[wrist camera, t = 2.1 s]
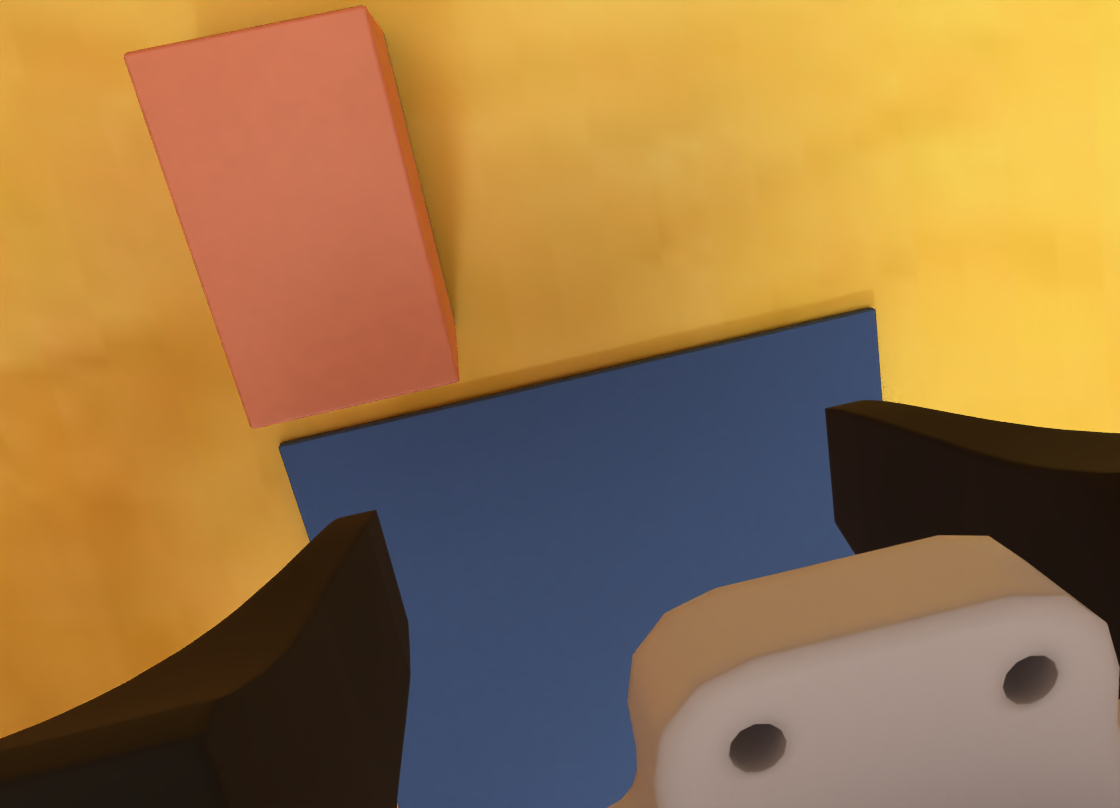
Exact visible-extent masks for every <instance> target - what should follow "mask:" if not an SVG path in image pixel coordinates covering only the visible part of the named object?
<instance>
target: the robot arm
mask: <svg viewBox="0 0 1120 808" xmlns="http://www.w3.org/2000/svg"><path fill="white" fill-rule="evenodd" d="M825 416H826V427H827V439H828V451H829V462H830V474H831V485H832V497H833V508H834V520H835V524H836V525H837V527H838V528H839V530H840V531H841V533H842V535H843V536H844V538H845V539H846V541H847V543H848V544H849V546H850V547H851V549H852V550H853V552H854V553H855V554H856V555H853V556H849V557H844V558H840V559H836V560H832V561H828V562H823V563H819V564H815V565H811V566H806V567H802V568H798V569H794V570H790V571H785V572H781V573H777V574H773V575H769V576H764V577H760V578H756V579H752V580H747V581H743V582H739V583H735V584H731V585H726V586H722V587H718V588H714V589H712V590H710V591H708V592H706V593H704V594H702V595H700V596H698V597H696V598H694V599H692V600H690V601H688V602H686V603H684V604H682V605H680V606H678V607H676V608H674V609H672V610H670V611H668V612H666V613H664V615H663V616H662V617H661V618H660V620H659V621H658V622H657V624H656V625H655V626H654V628H653V629H652V630H651V631H650V633H649V634H648V635H647V637H646V638H645V639H644V641H643V642H642V643H641V645H640V646H639V647H638V648H637V650H636V651H635V652H634V654H633V656H632V665H631V673H630V682H629V690H628V698H627V703H628V708H629V713H630V718H631V724H632V729H633V734H634V739H635V744H636V756H637V771H636V775H635V779H634V782H633V785H632V787H631V788H630V789H629V791H628V792H627V793H626V794H625V795H624V797H623V798H622V799H621V800H620V801H618V802H616V803H614V804H613V805H611V806H609V807H607V808H1120V433H1103V432H1089V431H1075V430H1062V429H1052V428H1043V427H1035V426H1028V425H1021V424H1014V423H1007V422H1000V421H994V420H988V419H982V418H976V417H971V416H965V415H960V414H954V413H949V412H944V411H939V410H933V409H928V408H923V407H917V406H912V405H906V404H900V403H894V402H887V401H878V400H860V401H855V402H851V403H846V404H842V405H838V406H833V407H829V408H825ZM410 677H411V669H410V642H409V622H408V619H407V615H406V612H405V608H404V605H403V601H402V598H401V594H400V591H399V587H398V584H397V580H396V577H395V573H394V570H393V566H392V563H391V559H390V556H389V552H388V549H387V545H386V542H385V538H384V535H383V531H382V528H381V524H380V521H379V517H378V514H377V510H372V511H367V512H363V513H358V514H354V515H349V516H345V517H340V518H337V519H335V520H334V521H332V522H331V523H330V524H329V525H327V526H326V527H325V528H324V529H323V530H322V531H321V532H320V533H319V534H318V535H317V536H316V537H315V538H314V539H313V540H312V541H311V542H310V543H309V544H308V545H307V546H306V547H305V548H304V549H303V550H301V551H300V552H299V553H298V554H297V555H296V556H295V557H294V558H293V559H292V560H291V561H290V562H289V563H288V564H287V565H286V566H285V567H284V568H283V569H282V570H281V571H280V572H279V573H278V574H277V575H276V576H275V577H273V578H272V579H271V580H270V581H269V582H268V583H267V584H265V585H264V586H263V587H262V588H261V589H260V590H259V591H257V592H256V593H255V594H254V595H253V596H252V597H251V598H250V599H248V600H247V601H246V602H245V603H244V604H243V605H242V606H240V607H239V608H238V609H237V610H236V611H234V612H233V613H232V614H231V615H229V616H228V617H227V618H225V619H224V620H223V621H221V622H220V623H219V624H218V625H216V626H215V627H213V628H212V629H211V630H209V631H208V632H206V633H205V634H204V635H202V636H201V637H199V638H198V639H196V640H195V641H194V642H192V643H191V644H189V645H188V646H186V647H185V648H183V649H182V650H180V651H178V652H177V653H175V654H173V655H172V656H170V657H168V658H167V659H165V660H163V661H162V662H160V663H158V664H157V665H155V666H153V667H151V668H150V669H148V670H146V671H145V672H143V673H141V674H140V675H138V676H136V677H135V678H133V679H131V680H129V681H128V682H126V683H124V684H122V685H120V686H118V687H116V688H114V689H112V690H110V691H108V692H106V693H104V694H102V695H100V696H98V697H96V698H95V699H93V700H90V701H88V702H86V703H84V704H82V705H80V706H78V707H75V708H73V709H71V710H69V711H67V712H65V713H62V714H60V715H58V716H56V717H53V718H51V719H49V720H46V721H44V722H42V723H40V724H37V725H35V726H32V727H29V728H27V729H24V730H22V731H19V732H17V733H14V734H11V735H9V736H6V737H4V738H1V739H0V808H397V796H398V788H399V779H400V770H401V761H402V752H403V743H404V734H405V726H406V717H407V707H408V698H409V688H410Z"/></svg>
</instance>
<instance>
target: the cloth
mask: <svg viewBox="0 0 1120 808" xmlns="http://www.w3.org/2000/svg"><path fill="white" fill-rule="evenodd" d="M860 400H878V401H882V391H881V377H880V364H879V351H878V337H877V324H876V311H875V309H873V308H865V309H861V310H857V311H852V312H848V313H844V314H839V315H835V316H831V317H826V318H822V319H818V320H813V321H809V322H805V323H800V324H796V325H792V326H787V327H783V328H779V329H774V330H770V331H766V332H761V333H757V334H753V335H748V336H744V337H740V338H735V339H731V340H727V341H722V342H718V343H714V344H709V345H705V346H701V347H696V348H692V349H688V350H683V351H679V352H675V353H670V354H666V355H661V356H657V357H653V358H648V359H644V360H640V361H635V362H631V363H627V364H622V365H618V366H614V367H609V368H605V369H601V370H596V371H592V372H588V373H583V374H579V375H575V376H570V377H566V378H562V379H557V380H553V381H549V382H544V383H540V384H536V385H531V386H527V387H523V388H518V389H514V390H510V391H505V392H501V393H497V394H492V395H488V396H484V397H479V398H475V399H471V400H466V401H462V402H458V403H453V404H449V405H445V406H440V407H436V408H432V409H427V410H423V411H419V412H414V413H410V414H406V415H401V416H397V417H393V418H388V419H384V420H380V421H375V422H371V423H367V424H362V425H358V426H354V427H349V428H345V429H341V430H336V431H332V432H328V433H323V434H319V435H315V436H310V437H306V438H302V439H297V440H293V441H288V442H284V443H281V444H280V446H279V450H280V453H281V456H282V459H283V462H284V465H285V468H286V471H287V474H288V477H289V480H290V483H291V486H292V489H293V492H294V495H295V498H296V501H297V504H298V507H299V510H300V513H301V516H302V519H303V522H304V525H305V528H306V531H307V534H308V537H309V540H310V542H311V541H312V540H313V539H314V538H315V537H316V536H317V535H318V534H319V533H320V532H321V531H322V530H323V529H324V528H325V527H326V526H327V525H329V524H330V523H331V522H332V521H334V520H335V519H337V518H340V517H345V516H349V515H354V514H358V513H363V512H367V511H372V510H377V514H378V517H379V521H380V524H381V528H382V531H383V535H384V538H385V542H386V545H387V549H388V552H389V556H390V559H391V563H392V566H393V570H394V573H395V577H396V580H397V584H398V587H399V591H400V594H401V598H402V601H403V605H404V608H405V612H406V615H407V619H408V622H409V642H410V669H411V677H410V688H409V698H408V707H407V717H406V726H405V734H404V743H403V752H402V761H401V770H400V779H399V788H398V796H397V804H398V807H399V808H607V807H609V806H611V805H613V804H614V803H616V802H618V801H620V800H621V799H622V798H623V797H624V795H625V794H626V793H627V792H628V791H629V789H630V788H631V787H632V785H633V782H634V779H635V775H636V771H637V756H636V744H635V739H634V734H633V729H632V724H631V718H630V713H629V708H628V703H627V698H628V690H629V682H630V673H631V665H632V656H633V654H634V652H635V651H636V650H637V648H638V647H639V646H640V645H641V643H642V642H643V641H644V639H645V638H646V637H647V635H648V634H649V633H650V631H651V630H652V629H653V628H654V626H655V625H656V624H657V622H658V621H659V620H660V618H661V617H662V616H663V615H664V613H666V612H668V611H670V610H672V609H674V608H676V607H678V606H680V605H682V604H684V603H686V602H688V601H690V600H692V599H694V598H696V597H698V596H700V595H702V594H704V593H706V592H708V591H710V590H712V589H714V588H718V587H722V586H726V585H731V584H735V583H739V582H743V581H747V580H752V579H756V578H760V577H764V576H769V575H773V574H777V573H781V572H785V571H790V570H794V569H798V568H802V567H806V566H811V565H815V564H819V563H823V562H828V561H832V560H836V559H840V558H844V557H849V556H853V555H856V554H855V553H854V552H853V550H852V549H851V547H850V546H849V544H848V543H847V541H846V539H845V538H844V536H843V535H842V533H841V531H840V530H839V528H838V527H837V525H836V524H835V520H834V508H833V497H832V485H831V474H830V462H829V451H828V439H827V427H826V416H825V408H829V407H833V406H838V405H842V404H846V403H851V402H855V401H860Z"/></svg>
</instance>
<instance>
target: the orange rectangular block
mask: <svg viewBox="0 0 1120 808" xmlns="http://www.w3.org/2000/svg"><path fill="white" fill-rule="evenodd" d="M124 60H125V63H126V66H127V69H128V72H129V74H130V77H131V80H132V83H133V86H134V89H135V92H136V95H137V98H138V101H139V104H140V106H141V109H142V112H143V115H144V118H145V121H146V124H147V127H148V130H149V133H150V136H151V139H152V141H153V144H154V147H155V150H156V153H157V156H158V159H159V162H160V165H161V168H162V171H163V174H164V176H165V179H166V182H167V185H168V188H169V191H170V194H171V197H172V200H173V203H174V206H175V208H176V211H177V214H178V217H179V220H180V223H181V226H182V229H183V232H184V235H185V238H186V241H187V243H188V246H189V249H190V252H191V255H192V258H193V261H194V264H195V267H196V270H197V273H198V276H199V278H200V281H201V284H202V287H203V290H204V293H205V296H206V299H207V302H208V305H209V308H210V310H211V313H212V316H213V319H214V322H215V325H216V328H217V331H218V334H219V337H220V340H221V343H222V345H223V348H224V351H225V354H226V357H227V360H228V363H229V366H230V369H231V372H232V375H233V378H234V380H235V383H236V386H237V389H238V392H239V395H240V398H241V401H242V404H243V407H244V410H245V412H246V415H247V418H248V421H249V424H250V426H251V428H254V429H255V428H260V427H264V426H269V425H273V424H277V423H282V422H286V421H290V420H295V419H299V418H304V417H308V416H312V415H317V414H321V413H325V412H330V411H334V410H338V409H343V408H347V407H352V406H356V405H360V404H365V403H369V402H373V401H378V400H382V399H386V398H391V397H395V396H400V395H404V394H408V393H413V392H417V391H421V390H426V389H430V388H434V387H439V386H443V385H448V384H452V383H456V382H458V381H459V367H458V354H457V341H456V328H455V320H454V316H453V312H452V308H451V304H450V300H449V296H448V292H447V288H446V284H445V280H444V276H443V272H442V267H441V263H440V259H439V255H438V251H437V247H436V243H435V239H434V235H433V231H432V227H431V223H430V219H429V215H428V210H427V206H426V202H425V198H424V194H423V190H422V186H421V182H420V178H419V174H418V170H417V166H416V162H415V158H414V153H413V149H412V145H411V141H410V137H409V133H408V129H407V125H406V121H405V117H404V113H403V109H402V105H401V101H400V96H399V92H398V88H397V84H396V80H395V76H394V72H393V68H392V64H391V60H390V56H389V52H388V48H387V44H386V39H385V35H384V33H383V32H382V30H381V29H380V27H379V26H378V24H377V23H376V21H375V20H374V18H373V17H372V15H371V14H370V12H369V11H368V9H367V8H366V7H365V6H363V5H361V6H356V7H351V8H346V9H341V10H336V11H331V12H326V13H321V14H316V15H311V16H306V17H301V18H296V19H291V20H286V21H281V22H276V23H271V24H266V25H261V26H256V27H251V28H246V29H241V30H236V31H231V32H226V33H221V34H216V35H211V36H206V37H202V38H197V39H192V40H187V41H182V42H177V43H172V44H167V45H162V46H157V47H152V48H147V49H142V50H137V51H132V52H127V53H125V54H124Z"/></svg>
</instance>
